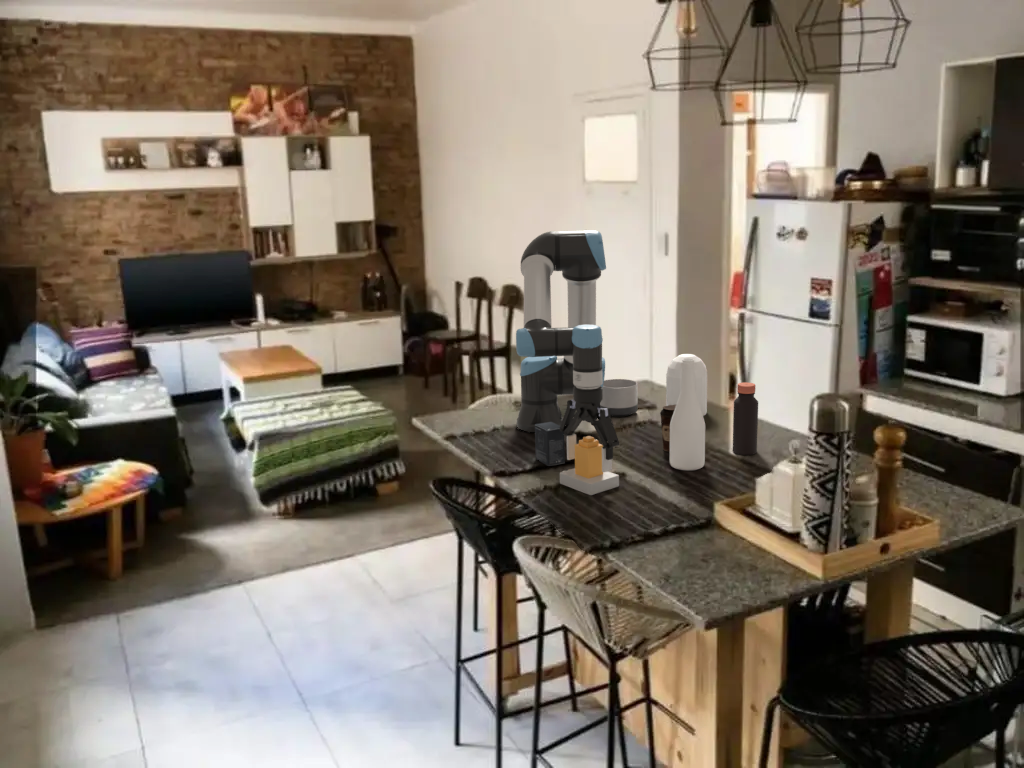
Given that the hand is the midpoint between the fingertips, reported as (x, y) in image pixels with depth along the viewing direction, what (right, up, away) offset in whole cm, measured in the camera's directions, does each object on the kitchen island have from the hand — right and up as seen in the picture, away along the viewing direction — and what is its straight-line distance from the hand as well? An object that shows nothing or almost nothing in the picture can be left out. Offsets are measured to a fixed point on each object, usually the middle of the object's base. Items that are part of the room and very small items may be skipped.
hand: (588, 464), depth 236 cm
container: (+38, +11, +66) cm, 77 cm away
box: (-9, -1, +21) cm, 23 cm away
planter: (+16, +11, +68) cm, 71 cm away
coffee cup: (+27, +2, +27) cm, 39 cm away
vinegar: (+47, +1, +23) cm, 52 cm away
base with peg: (-1, -5, +2) cm, 6 cm away
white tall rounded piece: (+28, -2, +13) cm, 31 cm away
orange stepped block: (0, -2, +1) cm, 2 cm away
